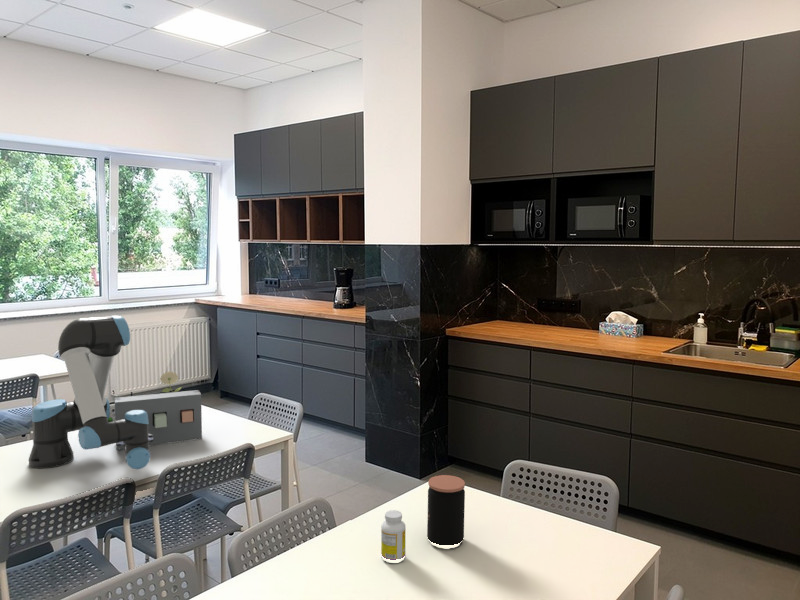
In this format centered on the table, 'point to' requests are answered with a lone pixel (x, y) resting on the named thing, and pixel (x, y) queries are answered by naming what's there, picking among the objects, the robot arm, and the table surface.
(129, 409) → the keypad panel
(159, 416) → the sage key
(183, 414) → the terracotta key
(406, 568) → the table surface
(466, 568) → the table surface
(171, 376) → the flower in vase
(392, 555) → the supplement bottle
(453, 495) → the coffee jar
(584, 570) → the table surface
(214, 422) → the table surface
